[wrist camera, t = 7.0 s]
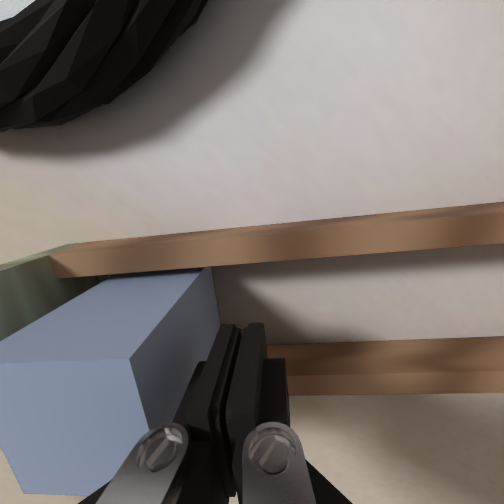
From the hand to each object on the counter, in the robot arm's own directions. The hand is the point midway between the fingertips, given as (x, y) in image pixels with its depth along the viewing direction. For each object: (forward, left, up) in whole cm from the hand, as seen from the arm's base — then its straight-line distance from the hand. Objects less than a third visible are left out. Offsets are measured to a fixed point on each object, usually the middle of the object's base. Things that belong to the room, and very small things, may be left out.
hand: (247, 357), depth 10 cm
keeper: (+5, 0, -5) cm, 7 cm away
